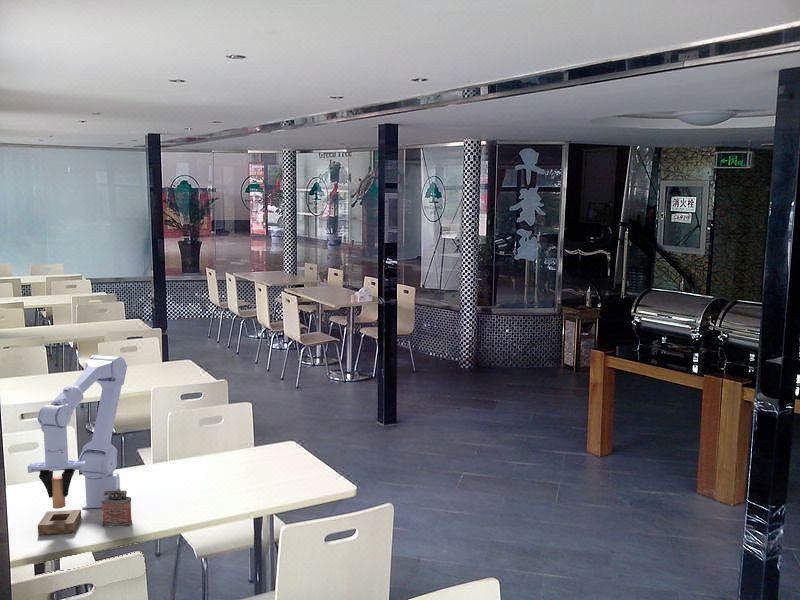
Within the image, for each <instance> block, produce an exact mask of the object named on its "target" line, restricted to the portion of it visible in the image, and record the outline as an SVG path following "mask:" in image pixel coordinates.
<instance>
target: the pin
mask: <svg viewBox="0 0 800 600" xmlns="http://www.w3.org/2000/svg"><path fill="white" fill-rule="evenodd" d="M51 482H52V498H51V501H52V508H53V509H55V510H56V509H59V510H60V509H63V508H65V507H66V504H67V503H66V497H64V495H63V480H62V475H57V476H53V478H52V479H51Z"/></svg>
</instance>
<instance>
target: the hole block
mask: <svg viewBox="0 0 800 600" xmlns="http://www.w3.org/2000/svg"><path fill="white" fill-rule="evenodd" d="M81 522H82V509H70V510H69V509H68V510H53V511H52V510H51V511H46V512H45V514H44V515H43V517H42V518H41V520H40V522H39V523H38V524H37V536H38V537H42V536H41V535H44V536H57V535H73V534H72V533H75V532H76V530H77V529H76V528H78V527H79V525H80V523H81ZM77 526H78V527H77Z"/></svg>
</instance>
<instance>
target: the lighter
mask: <svg viewBox="0 0 800 600" xmlns="http://www.w3.org/2000/svg"><path fill="white" fill-rule="evenodd" d="M127 493H128V492H127V490H121V488H120V489H117V490H116V491H113V490H105V491H104V496H109V497H104V498H102V499H101V502H102V507H101V509H102V524H101V525H102V526H103V527H107V526H112V527H113V528H119V527H118V526H120V527H121V526H122V527H130V526H132V525H133V519H132V497H131V496H127ZM112 496H113V497H112ZM112 527H111V528H112ZM122 527H121V528H122Z"/></svg>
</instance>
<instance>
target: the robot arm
mask: <svg viewBox="0 0 800 600" xmlns="http://www.w3.org/2000/svg"><path fill="white" fill-rule="evenodd" d="M127 368H128V365H127V362H126V361H125V359H124V357H122V356H119V355H117V356H111V355H110V356H109V355H98V354H93V355H91V356H90V357H89V358H88V360H86V362H85V369H84V371H82V373H81V375H80V376H79V377H78V378H77V380H75V382H74V384H73V385H67V386H65V387H64V388H63V390H62V391H61V392H60V393H59V394H58V395H57V396H56V397H55V399H54V400H53V401H51V403H50V404H45V405H43V406H42V407H41V408H40V410H39V412H38V416H37V422H38V424H39V425H40V429H41V432H42V433H43V442H44V444H43V446H44V461H43V462H42V461H41V462H37V463H36V462H35V463H29V464H28V465H27V473H28V474H31V473H36V472H37V473H38V472H39V475H38V478H39V479H40V481H41V482H42V483H43V485H44V487H45V489H46V492H47V497H48V498H50V499H52V482H51V479H52V478H53V477H54V472H59V471H60V472H61V471H62V473H61V476H62V480H63V495H64V497H65V498H67V497H68V495H69V490H70V489H69V488H70V484H71V482H72V479H73V476H74V474H75V471H77V470H78V471H80V472H81V473H82V476H84V483H85V484H84V485H85V486H84V487H85V501H84V503H83V505H82V506H81V507H82V509H95V508H97V509H98V508H99V509H100V508H101V509H102V502H101V499H102V498H104V497H109V496H104V491H105V490H113V491H116V490H117V489H120V490H121V477H120V473H118V472H115V471H116V468H117V467H118V458H117V457H118V449H117V448H116V447H115V446H114V445H113V444H112V442H111V441H112V435H113V431H114V425H115V421H116V417H117V410H118V407H119V406H118V405H119V402H120V396H121V390H122V386H124V385H125V379H126V374H127V370H128V369H127ZM94 383H97V384H99V385H100V386H101V394H100V399H99V403H98V409H97V412H96V413H97V414H96V417H95V423H94V426H93V427H94V428H93V433H92V437H91V440H90V441H89V442H87V443H86V444H84V445H83V446H82V450H81V453H80V455H79V456H78V459H77V460H69V449H68V447H69V445H68V430H67V428H68V425H69V424H70V422H71V419H72V416H73V413H74V411H75V409H76V408H77V407H78V406H79V405H80V403H82V401H83V400H84V393H85V392H86V391H87V390H88V389H89V388H90V387H91V386H92V385H93V384H94ZM112 497H113V496H112Z"/></svg>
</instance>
